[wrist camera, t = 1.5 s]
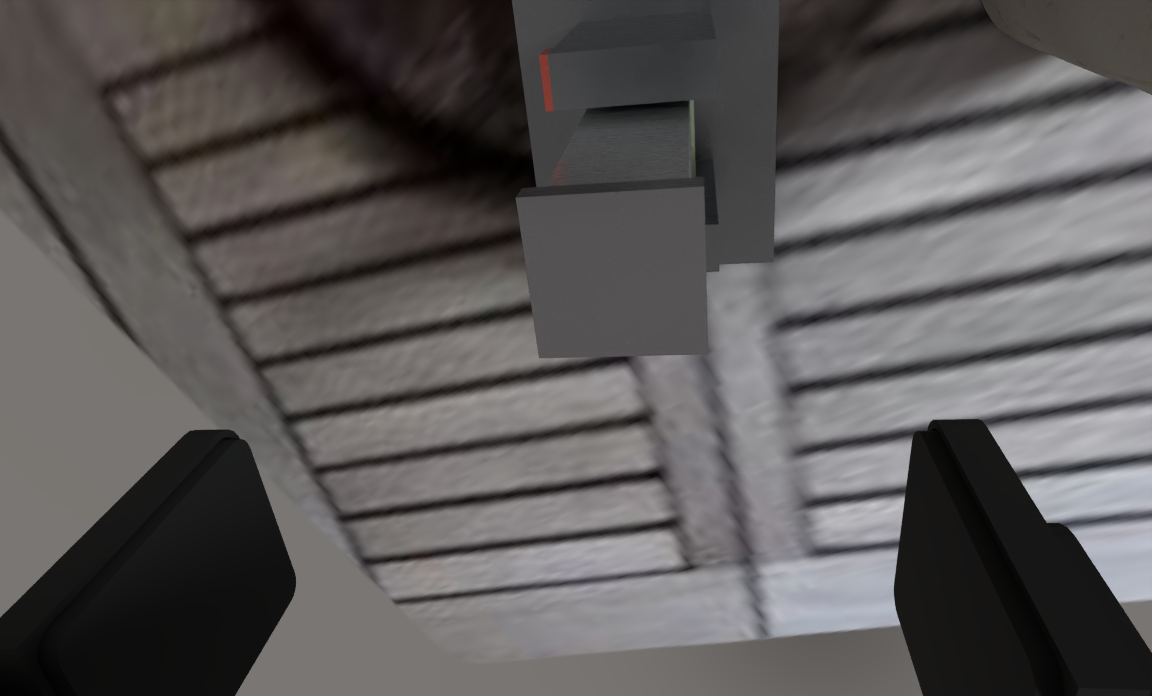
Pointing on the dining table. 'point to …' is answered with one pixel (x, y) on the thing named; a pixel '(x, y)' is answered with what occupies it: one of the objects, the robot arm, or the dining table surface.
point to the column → (620, 238)
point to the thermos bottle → (1084, 33)
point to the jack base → (666, 94)
